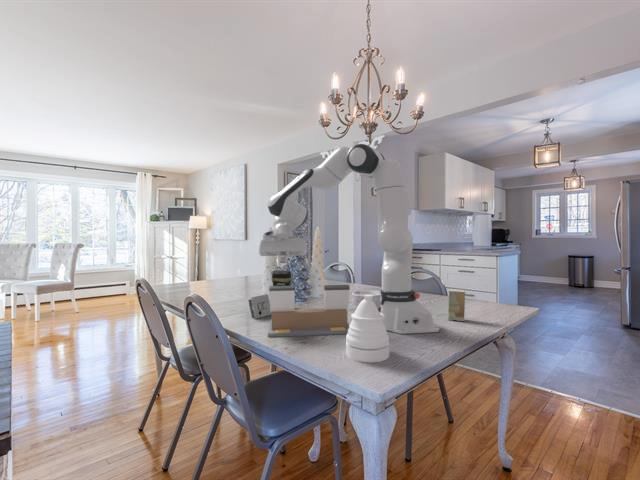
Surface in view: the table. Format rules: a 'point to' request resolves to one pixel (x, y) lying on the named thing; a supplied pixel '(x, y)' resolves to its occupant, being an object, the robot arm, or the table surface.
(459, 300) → the skincare box
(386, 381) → the table surface
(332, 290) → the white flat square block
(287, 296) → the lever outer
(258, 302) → the electrical switch
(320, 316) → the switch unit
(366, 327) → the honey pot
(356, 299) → the clear glass bowl
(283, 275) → the coffee jar
